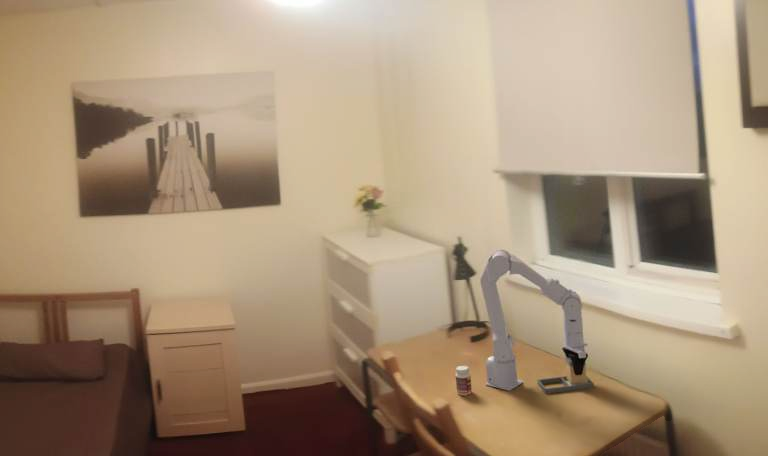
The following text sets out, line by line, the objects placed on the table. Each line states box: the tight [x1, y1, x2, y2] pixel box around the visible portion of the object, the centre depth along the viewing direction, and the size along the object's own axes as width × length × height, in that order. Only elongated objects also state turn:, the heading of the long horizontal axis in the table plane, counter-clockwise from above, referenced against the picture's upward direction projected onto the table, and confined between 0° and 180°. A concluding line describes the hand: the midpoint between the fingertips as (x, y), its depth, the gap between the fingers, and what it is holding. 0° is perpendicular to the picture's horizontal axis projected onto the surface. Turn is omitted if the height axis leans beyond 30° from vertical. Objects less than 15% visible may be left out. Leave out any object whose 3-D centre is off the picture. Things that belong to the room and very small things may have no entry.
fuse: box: [565, 357, 587, 383], centre depth 204 cm, size 5×4×7 cm
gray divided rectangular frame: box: [536, 375, 595, 395], centre depth 204 cm, size 16×8×2 cm, turn 92°
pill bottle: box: [455, 365, 473, 396], centre depth 207 cm, size 5×5×8 cm
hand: (576, 372), depth 204 cm, fingers closed on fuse, 4 cm apart
